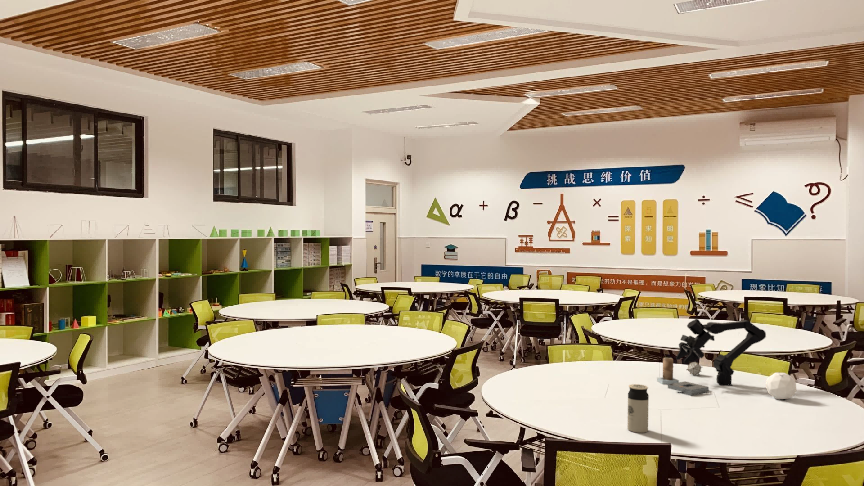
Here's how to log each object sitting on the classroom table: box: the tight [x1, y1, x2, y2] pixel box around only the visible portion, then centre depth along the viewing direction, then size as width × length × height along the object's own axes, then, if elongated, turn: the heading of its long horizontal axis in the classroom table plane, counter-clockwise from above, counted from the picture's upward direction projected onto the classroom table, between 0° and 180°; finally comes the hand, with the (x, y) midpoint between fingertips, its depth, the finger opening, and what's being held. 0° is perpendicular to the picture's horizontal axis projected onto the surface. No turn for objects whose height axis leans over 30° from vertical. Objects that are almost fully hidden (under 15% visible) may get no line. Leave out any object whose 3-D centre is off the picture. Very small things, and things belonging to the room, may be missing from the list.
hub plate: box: [667, 381, 710, 397], centre depth 324 cm, size 14×14×3 cm
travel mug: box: [627, 383, 650, 434], centre depth 255 cm, size 8×8×18 cm
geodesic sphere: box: [765, 371, 797, 400], centre depth 310 cm, size 14×14×14 cm
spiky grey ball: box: [686, 360, 702, 377], centre depth 364 cm, size 9×8×10 cm
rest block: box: [656, 377, 680, 385], centre depth 339 cm, size 9×7×3 cm
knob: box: [662, 357, 674, 380], centre depth 338 cm, size 5×5×13 cm
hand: (680, 360), depth 339 cm, fingers open, 9 cm apart
